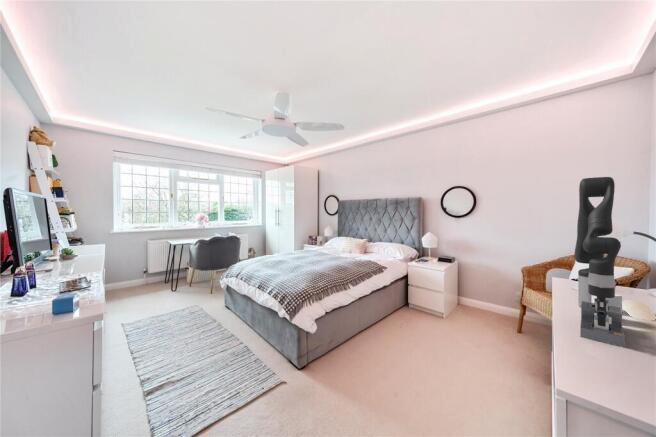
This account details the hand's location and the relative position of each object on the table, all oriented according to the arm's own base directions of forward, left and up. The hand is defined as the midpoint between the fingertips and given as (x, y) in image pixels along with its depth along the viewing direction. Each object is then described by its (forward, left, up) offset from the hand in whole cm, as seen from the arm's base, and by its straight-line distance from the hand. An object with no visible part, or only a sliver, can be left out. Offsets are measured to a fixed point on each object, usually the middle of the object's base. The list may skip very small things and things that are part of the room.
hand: (601, 322), depth 103 cm
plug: (0, 0, -5) cm, 5 cm away
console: (-5, -2, -6) cm, 8 cm away
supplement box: (-25, -7, -6) cm, 27 cm away
